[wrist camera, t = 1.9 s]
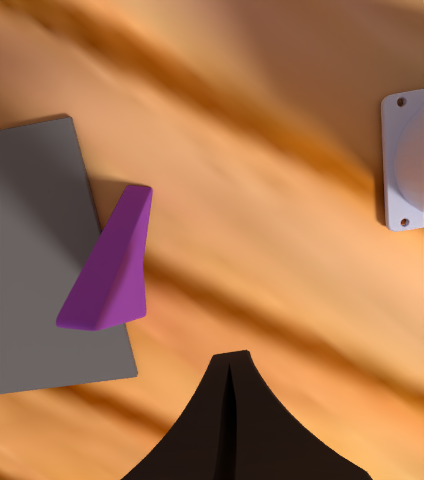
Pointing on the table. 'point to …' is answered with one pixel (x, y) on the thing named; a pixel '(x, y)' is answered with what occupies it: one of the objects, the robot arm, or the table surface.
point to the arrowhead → (113, 270)
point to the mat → (48, 263)
